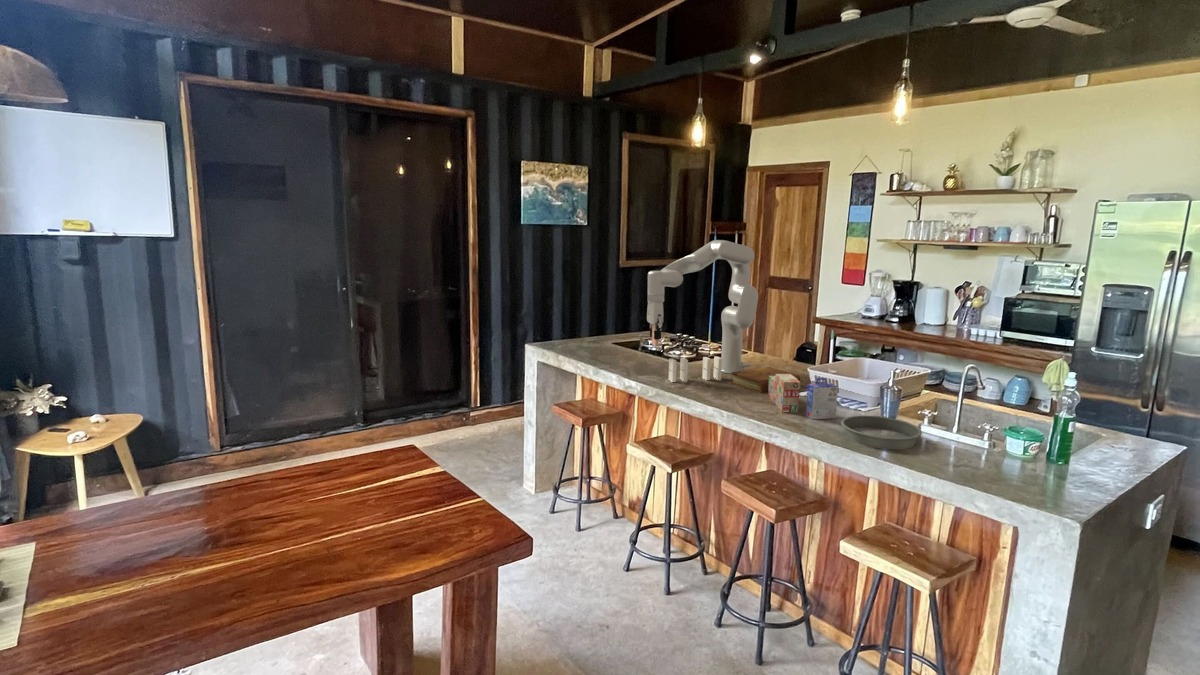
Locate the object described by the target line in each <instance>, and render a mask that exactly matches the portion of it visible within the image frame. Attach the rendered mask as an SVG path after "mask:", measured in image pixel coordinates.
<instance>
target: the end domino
mask: <svg viewBox="0 0 1200 675" xmlns="http://www.w3.org/2000/svg"><path fill="white" fill-rule="evenodd" d="M713 357H714V358H713V377H714V378H713V379H715V378H716V379H715V380H717V381H722V373H723V372H722V358H721V356H713Z"/></svg>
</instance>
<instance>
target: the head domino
mask: <svg viewBox="0 0 1200 675" xmlns="http://www.w3.org/2000/svg"><path fill="white" fill-rule="evenodd" d="M669 380H670V381H669ZM668 381H669V382H671V383H672V382H676V383H677V360H676V359H674V358H668Z"/></svg>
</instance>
